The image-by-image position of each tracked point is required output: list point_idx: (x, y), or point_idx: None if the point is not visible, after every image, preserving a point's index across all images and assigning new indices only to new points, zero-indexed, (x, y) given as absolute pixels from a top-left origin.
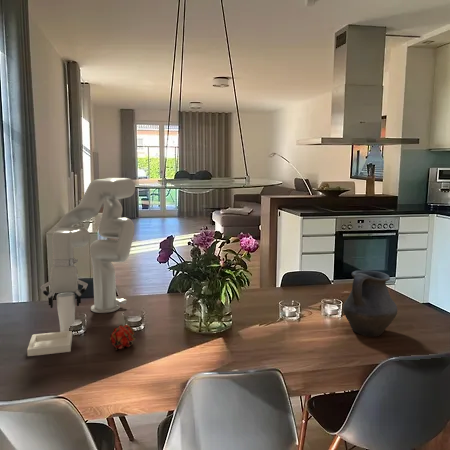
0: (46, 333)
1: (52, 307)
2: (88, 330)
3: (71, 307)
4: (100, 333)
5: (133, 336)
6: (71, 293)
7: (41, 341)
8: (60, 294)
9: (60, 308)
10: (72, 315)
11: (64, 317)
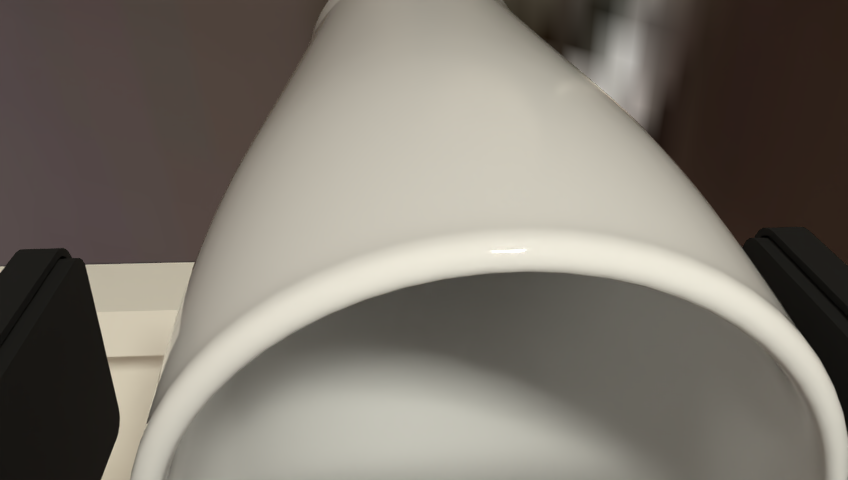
0: (154, 322)
1: (118, 421)
2: (704, 92)
3: (573, 419)
4: (822, 233)
5: None
6: (748, 333)
7: (131, 365)
8: (248, 342)
9: (323, 428)
10: (546, 273)
11: (398, 308)
